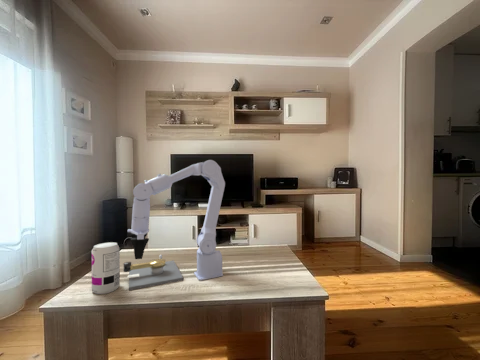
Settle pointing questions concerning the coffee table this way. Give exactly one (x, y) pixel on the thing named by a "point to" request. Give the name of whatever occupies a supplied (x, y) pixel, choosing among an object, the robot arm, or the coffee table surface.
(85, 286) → the coffee table surface
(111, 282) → the supplement can
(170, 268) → the plate
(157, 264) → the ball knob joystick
